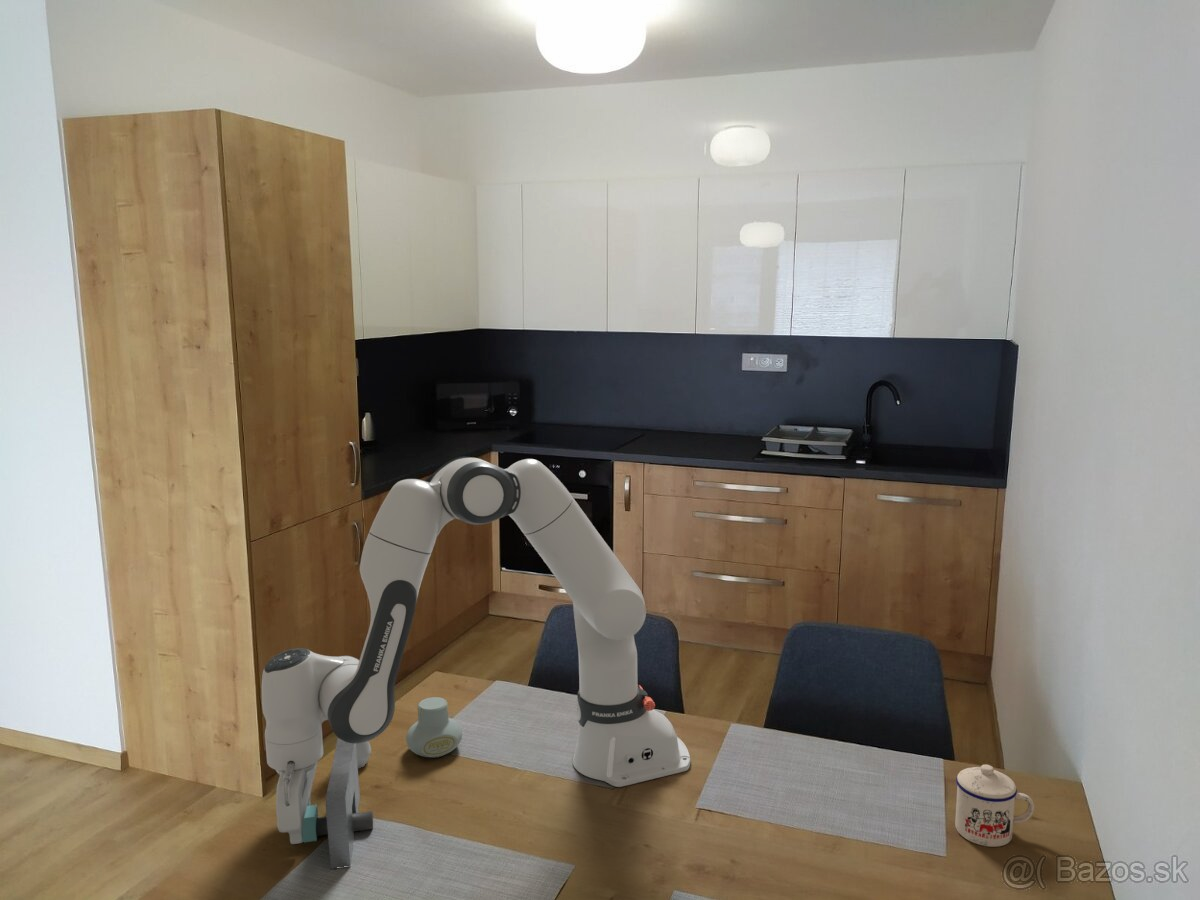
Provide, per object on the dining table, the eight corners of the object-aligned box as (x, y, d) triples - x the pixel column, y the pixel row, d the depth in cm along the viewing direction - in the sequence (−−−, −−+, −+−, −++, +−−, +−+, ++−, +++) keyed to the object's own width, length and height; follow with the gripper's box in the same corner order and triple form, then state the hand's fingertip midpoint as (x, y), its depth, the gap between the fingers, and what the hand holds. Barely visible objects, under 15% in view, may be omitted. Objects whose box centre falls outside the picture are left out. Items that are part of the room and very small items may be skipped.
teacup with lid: (960, 846, 141) (964, 779, 139) (948, 813, 150) (951, 750, 148) (1040, 853, 139) (1045, 785, 137) (1023, 819, 148) (1028, 756, 146)
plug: (373, 821, 151) (372, 797, 150) (372, 833, 147) (370, 809, 146) (294, 831, 148) (292, 807, 148) (291, 844, 145) (289, 819, 144)
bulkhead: (359, 797, 158) (355, 735, 156) (350, 866, 139) (345, 797, 137) (342, 799, 157) (337, 737, 155) (330, 869, 138) (325, 800, 136)
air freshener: (456, 734, 180) (454, 689, 178) (467, 753, 173) (465, 706, 171) (403, 746, 176) (400, 700, 174) (412, 766, 168) (409, 717, 166)
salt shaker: (376, 756, 172) (372, 694, 170) (365, 772, 166) (361, 708, 164) (347, 755, 172) (342, 694, 170) (335, 771, 167) (331, 707, 165)
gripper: (306, 779, 135) (312, 860, 137) (321, 717, 154) (327, 789, 157) (263, 783, 133) (270, 865, 136) (284, 721, 153) (290, 793, 156)
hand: (300, 824), depth 146 cm, fingers open, 8 cm apart
